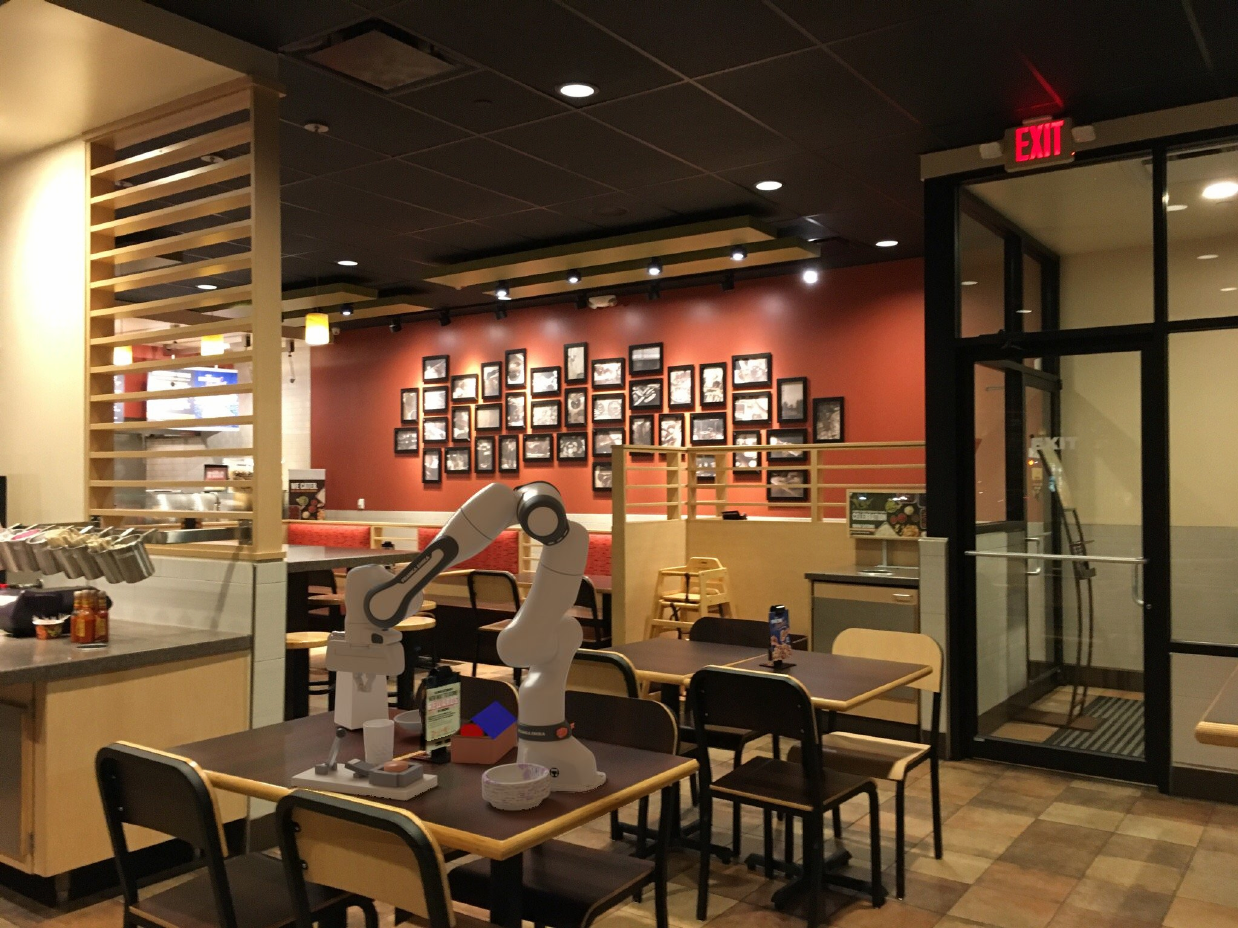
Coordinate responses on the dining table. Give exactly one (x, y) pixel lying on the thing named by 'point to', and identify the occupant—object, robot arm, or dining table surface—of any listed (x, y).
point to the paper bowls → (516, 785)
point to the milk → (359, 701)
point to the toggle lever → (335, 747)
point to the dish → (409, 721)
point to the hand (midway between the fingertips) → (364, 691)
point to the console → (367, 781)
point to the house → (484, 736)
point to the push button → (396, 766)
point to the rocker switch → (359, 766)
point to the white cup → (378, 741)
